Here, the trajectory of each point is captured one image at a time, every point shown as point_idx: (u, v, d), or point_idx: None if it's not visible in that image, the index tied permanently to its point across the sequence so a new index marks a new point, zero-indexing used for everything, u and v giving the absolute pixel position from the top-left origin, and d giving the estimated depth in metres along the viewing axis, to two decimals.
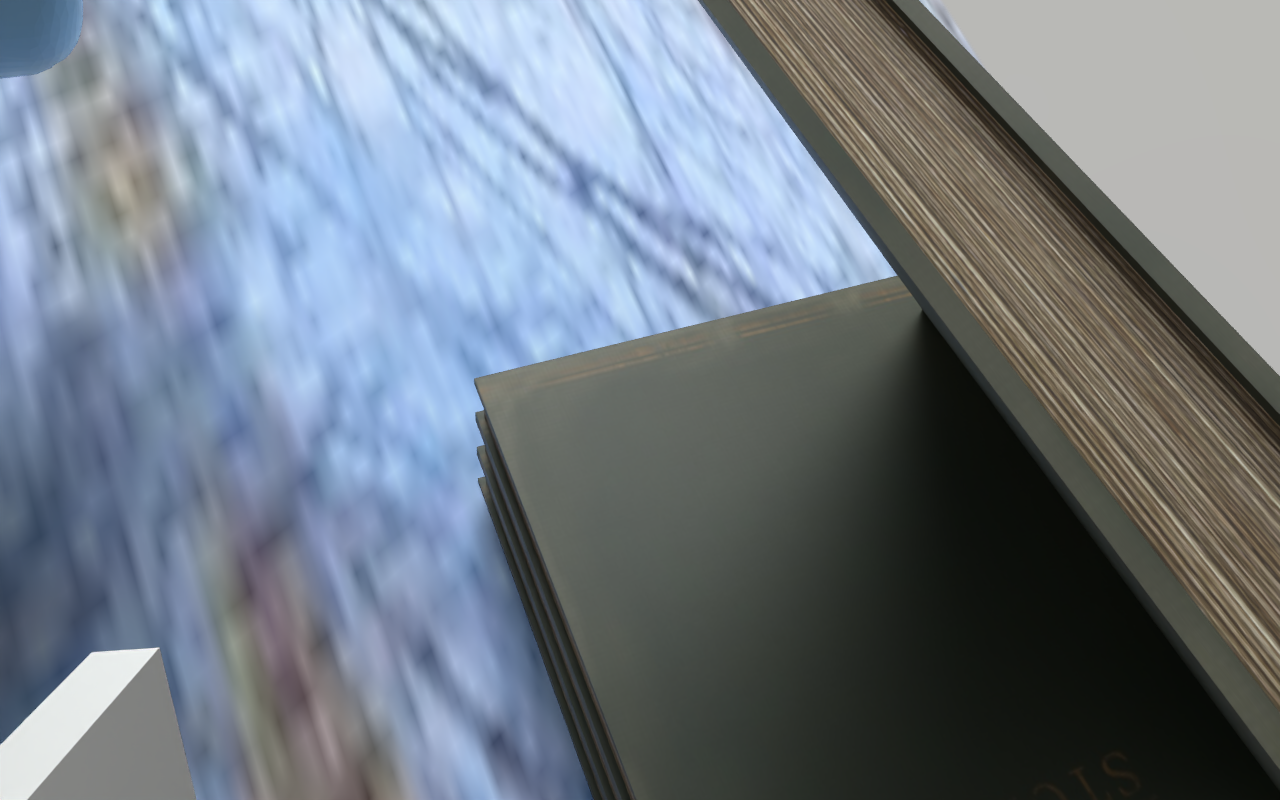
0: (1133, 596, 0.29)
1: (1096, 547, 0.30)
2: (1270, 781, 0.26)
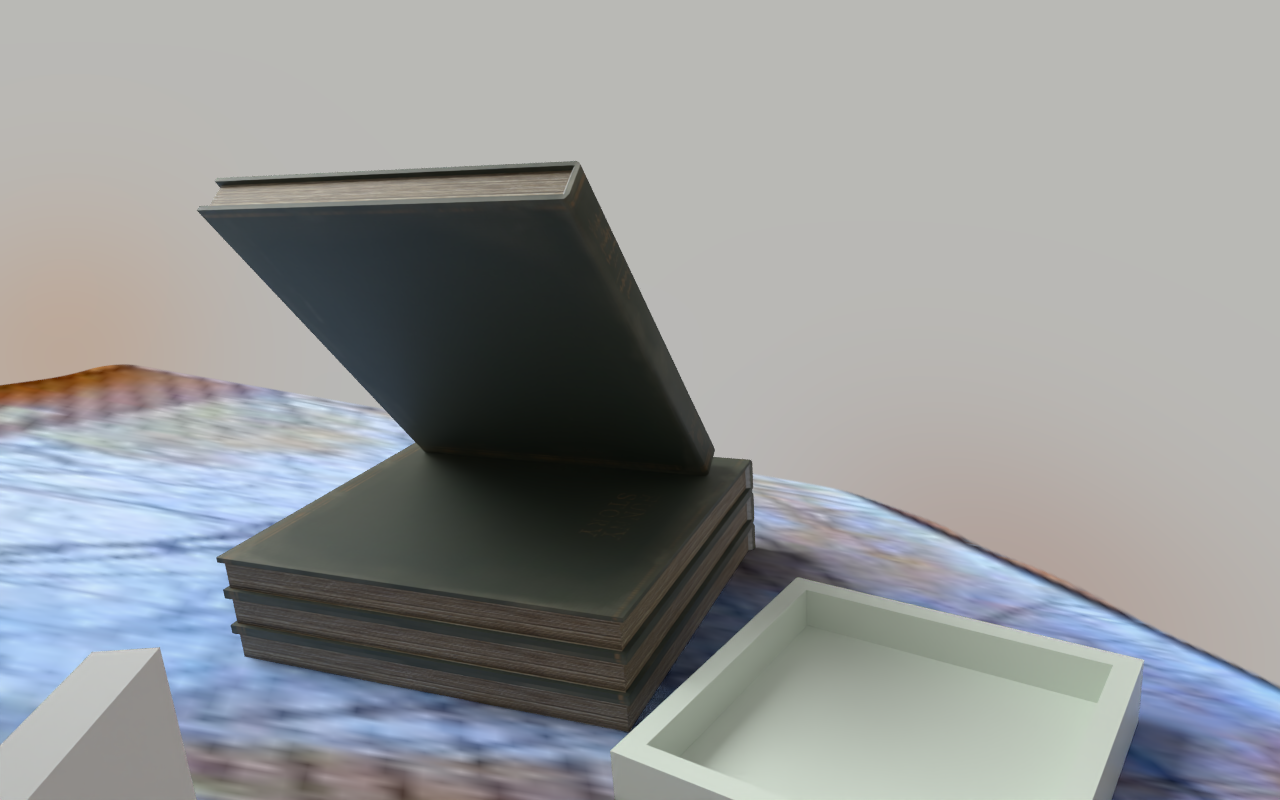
0: (590, 466, 0.59)
1: (564, 464, 0.60)
2: (678, 473, 0.57)
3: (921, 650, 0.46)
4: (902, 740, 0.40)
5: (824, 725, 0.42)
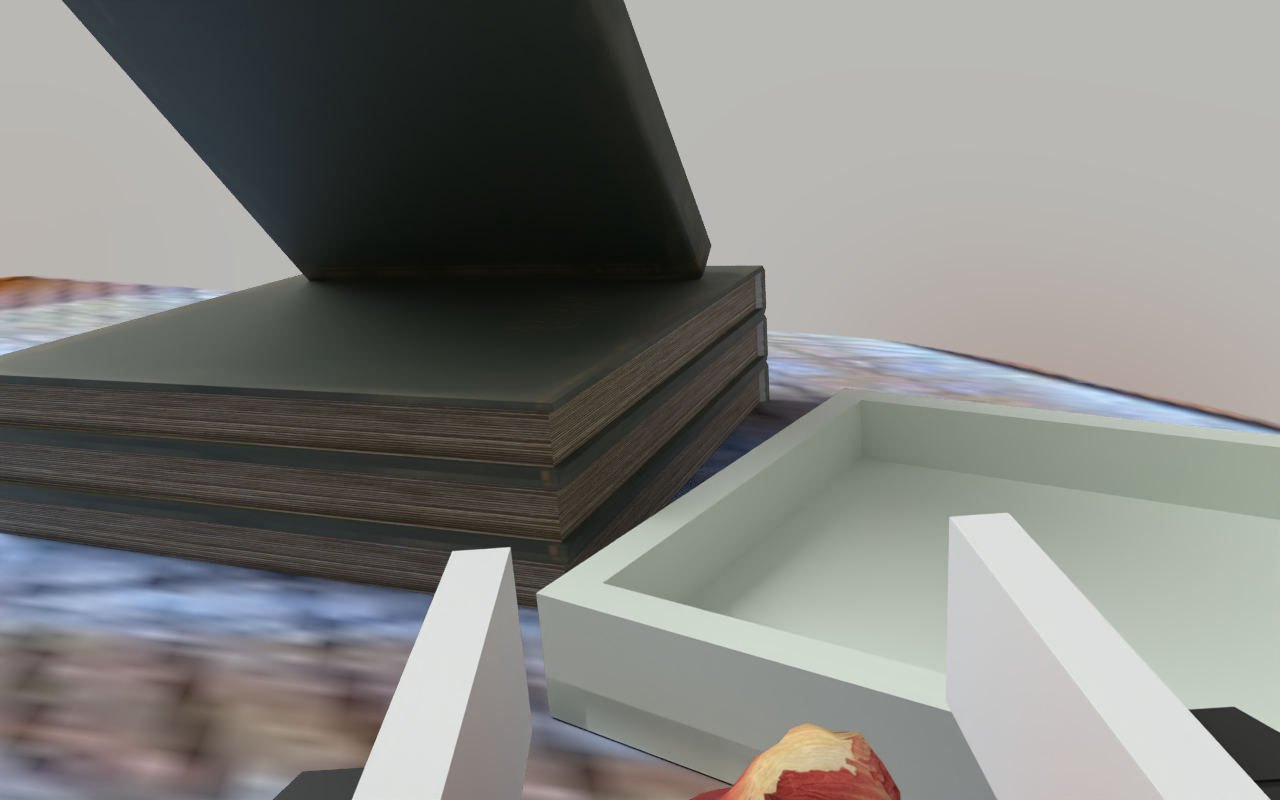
0: (532, 279, 0.42)
1: (496, 279, 0.42)
2: (658, 279, 0.39)
3: (1050, 476, 0.29)
4: None
5: (911, 572, 0.24)
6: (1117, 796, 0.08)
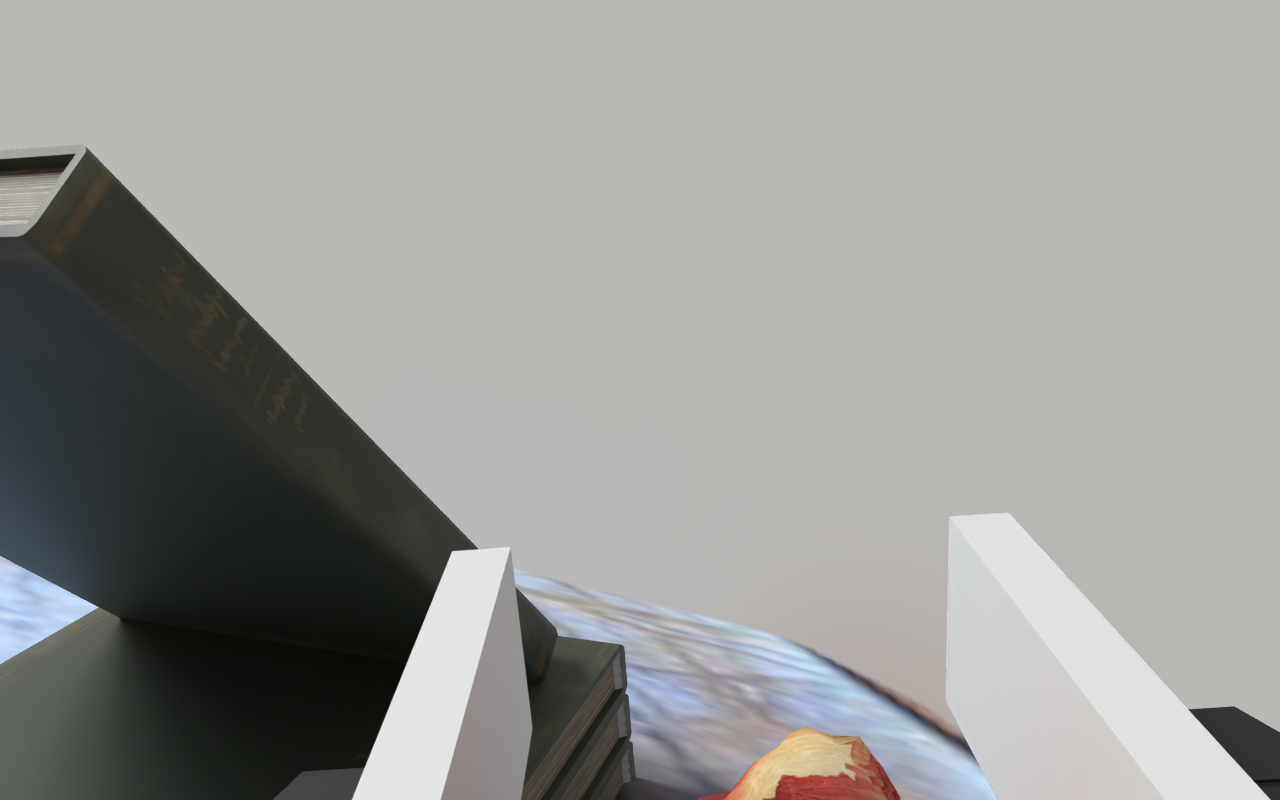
0: (359, 656, 0.36)
1: (321, 650, 0.37)
2: None
3: None
4: None
5: None
6: (1117, 796, 0.08)
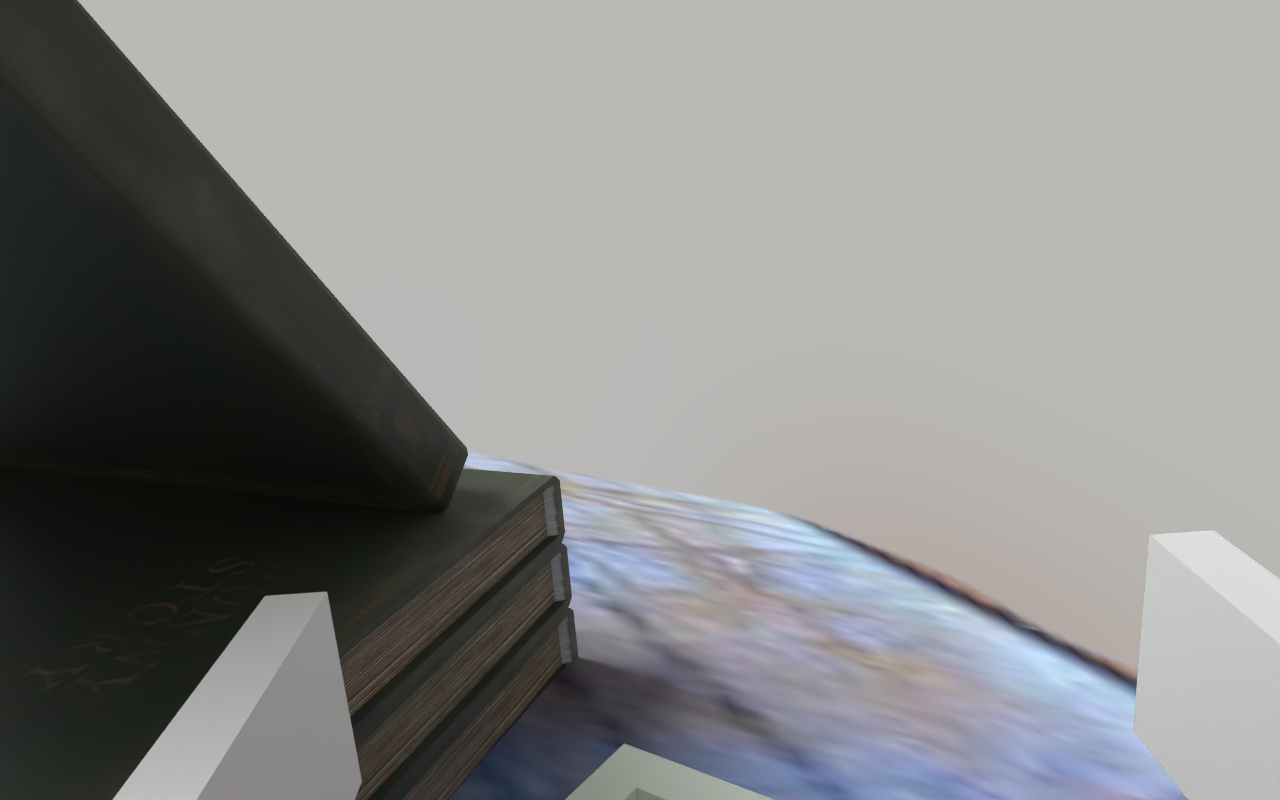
0: (221, 491, 0.28)
1: (176, 487, 0.29)
2: (385, 508, 0.26)
3: None
4: None
5: None
6: None
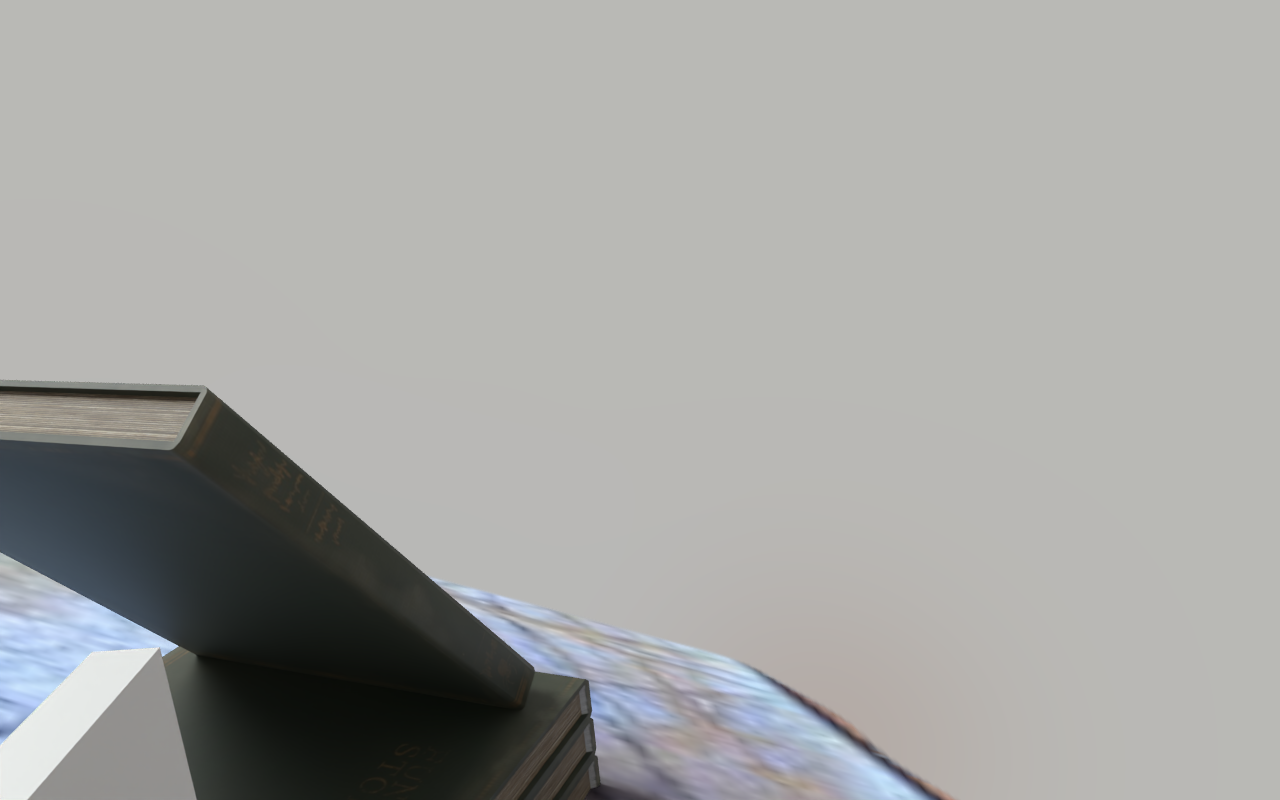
0: (383, 687, 0.47)
1: (353, 682, 0.47)
2: (487, 705, 0.44)
3: None
4: None
5: None
6: None
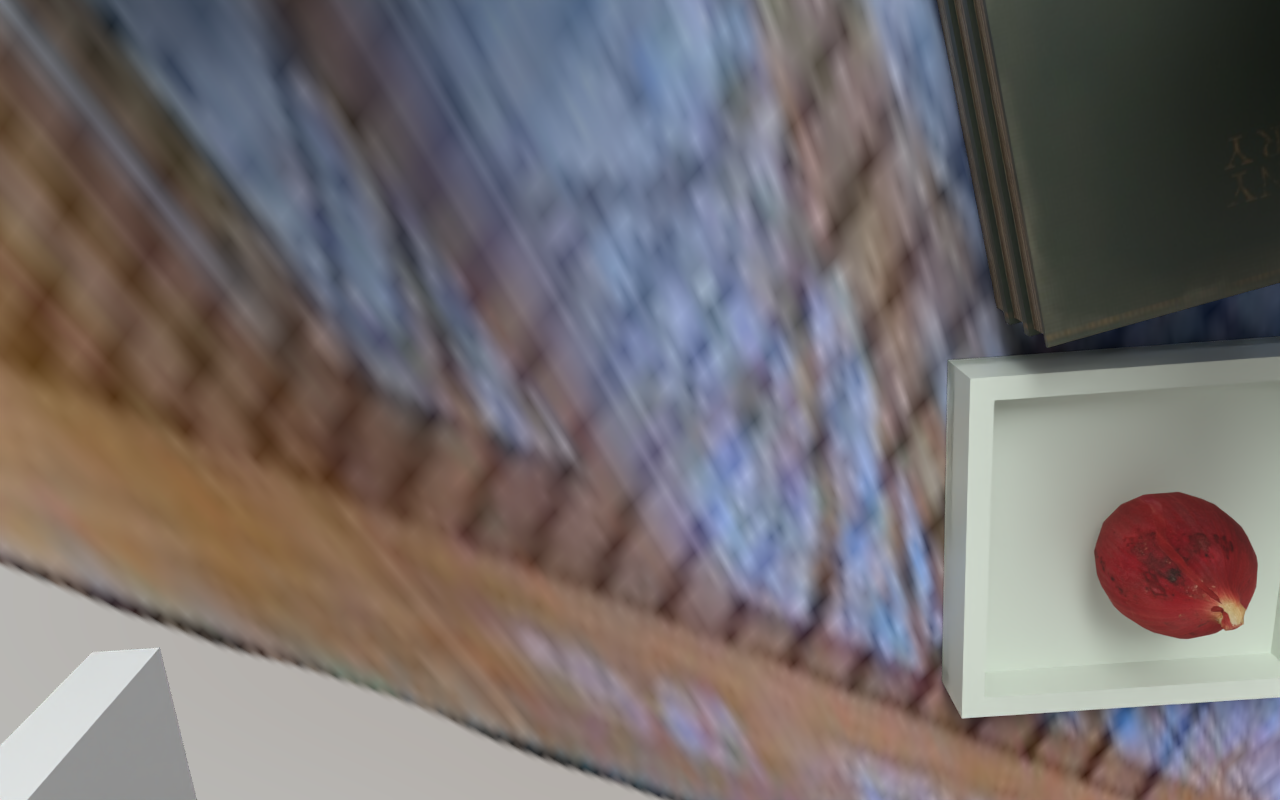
0: None
1: None
2: None
3: None
4: None
5: (1134, 467, 0.43)
6: None
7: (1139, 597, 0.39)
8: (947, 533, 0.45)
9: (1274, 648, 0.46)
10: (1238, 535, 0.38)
